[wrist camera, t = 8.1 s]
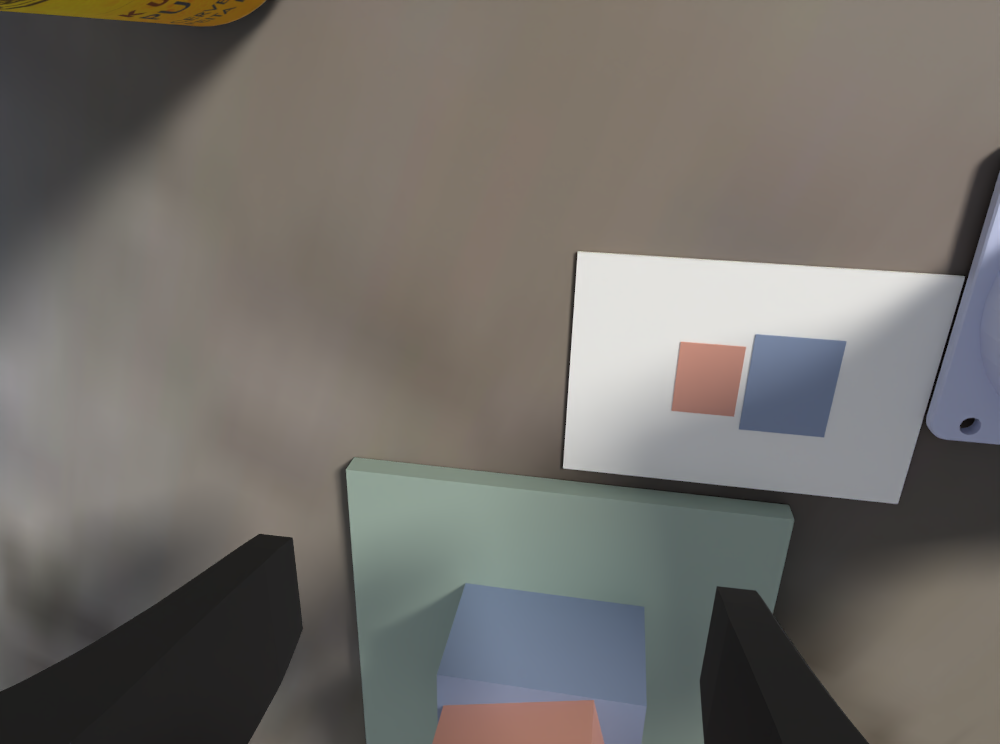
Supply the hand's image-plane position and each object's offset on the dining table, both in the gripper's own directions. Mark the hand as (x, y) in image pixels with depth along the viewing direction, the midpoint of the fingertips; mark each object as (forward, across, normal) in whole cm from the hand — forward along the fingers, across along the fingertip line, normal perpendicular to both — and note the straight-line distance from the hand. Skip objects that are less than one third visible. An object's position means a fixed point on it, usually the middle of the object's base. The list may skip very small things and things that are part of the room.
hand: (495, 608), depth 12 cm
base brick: (+10, -1, +11) cm, 15 cm away
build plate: (+10, -1, +11) cm, 15 cm away
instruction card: (+10, -6, 0) cm, 12 cm away
